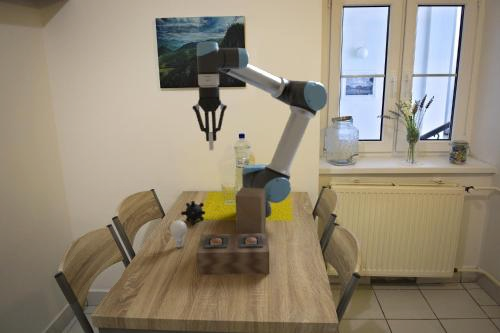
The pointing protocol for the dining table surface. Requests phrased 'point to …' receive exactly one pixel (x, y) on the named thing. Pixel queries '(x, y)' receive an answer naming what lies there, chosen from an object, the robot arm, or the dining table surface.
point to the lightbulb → (178, 232)
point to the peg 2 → (250, 240)
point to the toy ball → (194, 212)
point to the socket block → (233, 255)
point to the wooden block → (250, 211)
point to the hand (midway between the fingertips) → (211, 149)
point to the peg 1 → (216, 241)
